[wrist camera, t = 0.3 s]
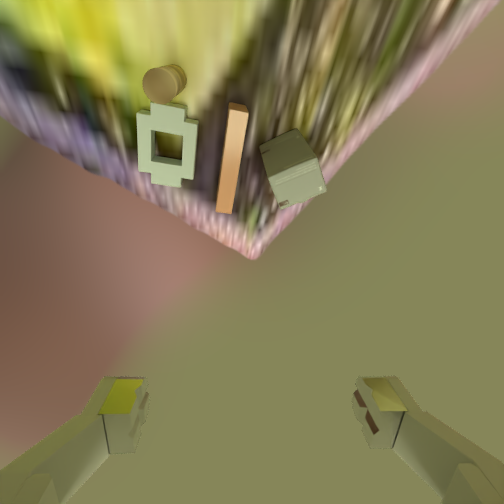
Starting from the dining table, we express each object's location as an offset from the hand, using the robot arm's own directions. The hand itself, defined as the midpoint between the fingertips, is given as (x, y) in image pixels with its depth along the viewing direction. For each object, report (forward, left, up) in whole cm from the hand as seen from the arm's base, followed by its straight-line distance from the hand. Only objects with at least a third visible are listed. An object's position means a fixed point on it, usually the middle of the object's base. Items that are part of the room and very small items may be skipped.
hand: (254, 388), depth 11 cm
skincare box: (-2, +11, -51) cm, 52 cm away
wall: (+5, +3, -51) cm, 51 cm away
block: (+10, -7, -50) cm, 52 cm away
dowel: (+1, -12, -51) cm, 52 cm away
